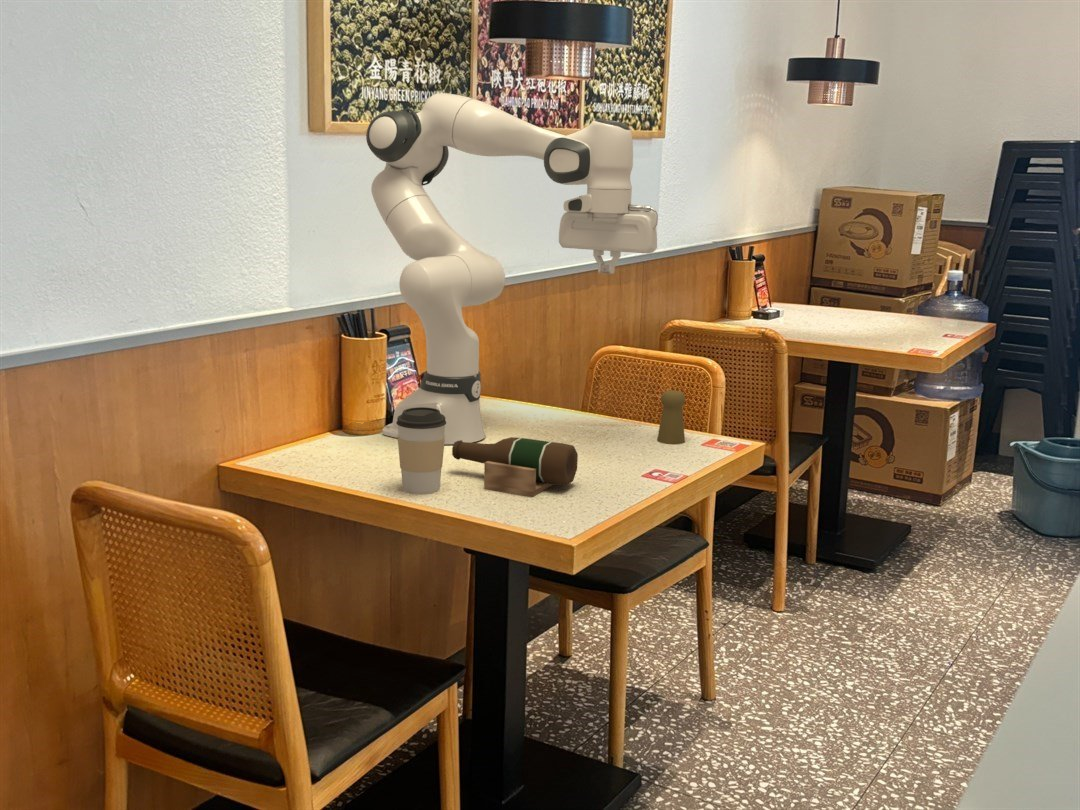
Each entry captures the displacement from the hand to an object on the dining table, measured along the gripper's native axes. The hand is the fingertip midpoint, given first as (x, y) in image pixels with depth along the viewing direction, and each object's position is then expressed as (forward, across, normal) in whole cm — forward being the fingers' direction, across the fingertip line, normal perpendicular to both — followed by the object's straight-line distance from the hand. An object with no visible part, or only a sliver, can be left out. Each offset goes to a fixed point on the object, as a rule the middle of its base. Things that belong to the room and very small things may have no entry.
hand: (606, 273), depth 231 cm
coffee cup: (+37, +18, +41) cm, 58 cm away
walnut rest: (+37, +3, +29) cm, 47 cm away
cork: (+37, -10, -16) cm, 42 cm away
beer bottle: (+32, -6, +28) cm, 43 cm away
